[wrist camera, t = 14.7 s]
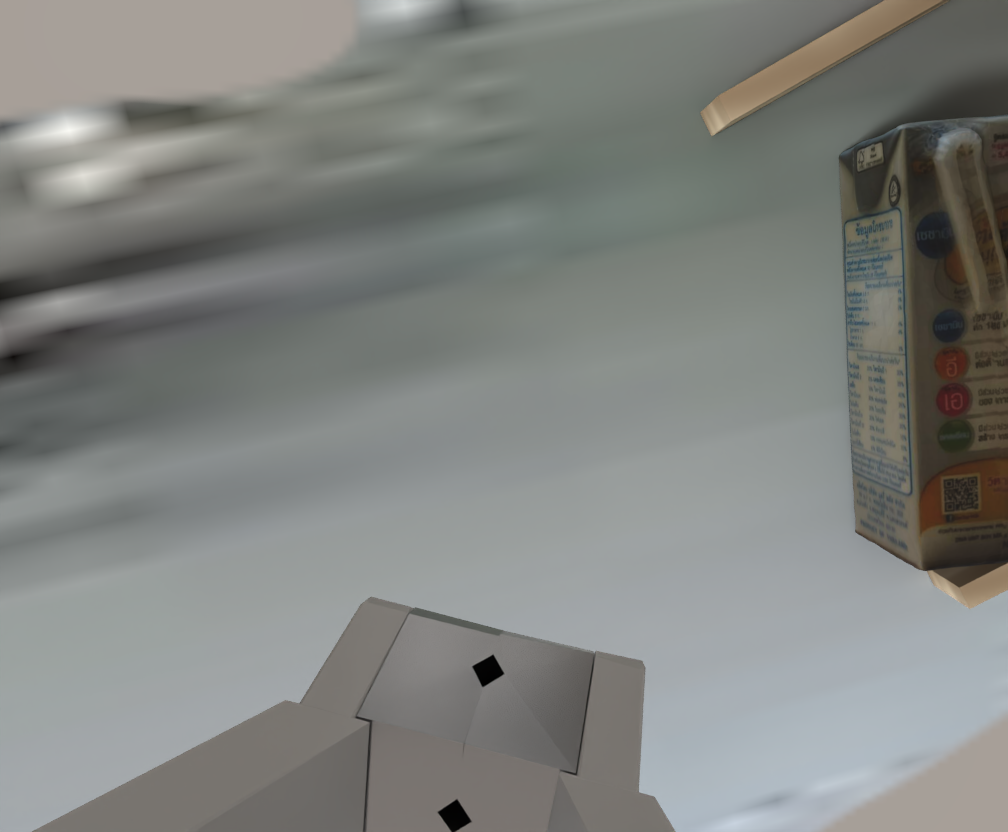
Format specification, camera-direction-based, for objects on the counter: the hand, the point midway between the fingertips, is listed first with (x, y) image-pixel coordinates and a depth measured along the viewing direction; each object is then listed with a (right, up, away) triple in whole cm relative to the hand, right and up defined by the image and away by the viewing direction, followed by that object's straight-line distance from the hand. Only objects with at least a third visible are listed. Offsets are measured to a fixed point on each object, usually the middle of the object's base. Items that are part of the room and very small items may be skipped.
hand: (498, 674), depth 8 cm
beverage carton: (+21, +6, +29) cm, 36 cm away
